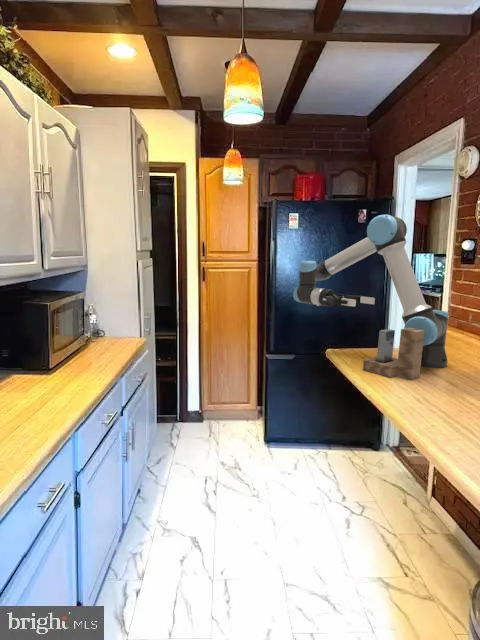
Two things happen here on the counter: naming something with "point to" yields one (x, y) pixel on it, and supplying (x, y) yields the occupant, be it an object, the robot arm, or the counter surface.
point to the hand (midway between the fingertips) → (365, 302)
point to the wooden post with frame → (401, 357)
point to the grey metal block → (385, 345)
